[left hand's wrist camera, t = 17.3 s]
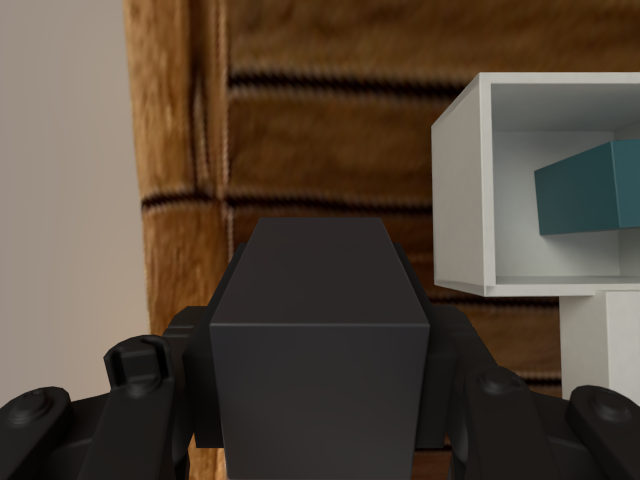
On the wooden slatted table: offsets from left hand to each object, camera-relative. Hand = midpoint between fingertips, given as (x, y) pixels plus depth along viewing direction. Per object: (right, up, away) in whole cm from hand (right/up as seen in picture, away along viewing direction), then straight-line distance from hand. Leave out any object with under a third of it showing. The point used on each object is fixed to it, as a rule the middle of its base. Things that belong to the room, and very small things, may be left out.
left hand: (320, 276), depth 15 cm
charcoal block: (0, 0, 0) cm, 0 cm away
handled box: (+15, -2, +12) cm, 19 cm away
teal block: (+17, +4, +12) cm, 21 cm away
